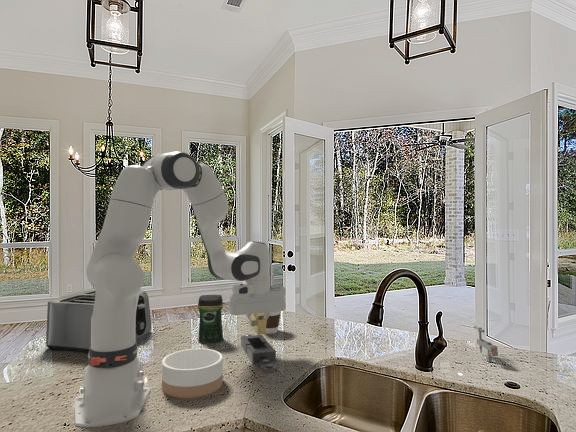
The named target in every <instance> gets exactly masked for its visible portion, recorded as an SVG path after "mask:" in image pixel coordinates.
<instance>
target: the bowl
mask: <svg viewBox="0 0 576 432" xmlns="http://www.w3.org/2000/svg"><path fill="white" fill-rule="evenodd" d="M223 358H224V357H223V354H222V353H221V352H219V351H218V350H215V349H209V348H204V347H203V348H202V347H200V348H198V347H197V348H187V349H183V350H181V349H180V350H177V351H174V352H172V353H170V354H167V355H166V356H165V357H164V358H163V359H162V361H161V390H162V392H163V393H165V395H168V396H170V397H173V398H179V399H193V398H200V397H203V396H208V395H210V394H213V393H215V392H217V391H218V390H219V389H221V388H222V386H223V383H224V382H223V381H224V379H223V374H224V370H223V369H224V367H223V366H224V364H223V363H224V361H223V360H224V359H223Z"/></svg>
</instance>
